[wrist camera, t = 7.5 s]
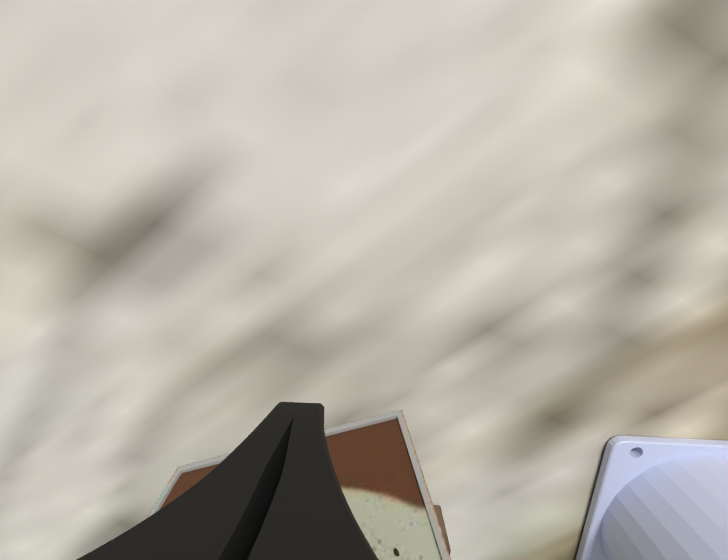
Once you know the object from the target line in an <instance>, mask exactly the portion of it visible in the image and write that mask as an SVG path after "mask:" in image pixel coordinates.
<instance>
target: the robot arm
mask: <svg viewBox="0 0 728 560" xmlns="http://www.w3.org/2000/svg"><path fill="white" fill-rule="evenodd" d="M633 448H634V449H633ZM632 449H633V450H632ZM77 560H379V559H378V558H377V556H376V555H375V553H374V551H373V550H372V548H371V546H370V544H369V543H368V541H367V539H366V537H365V536H364V534H363V532H362V530H361V528H360V527H359V525H358V523H357V521H356V519H355V517H354V515H353V513H352V511H351V509H350V507H349V505H348V503H347V501H346V498H345V496H344V494H343V491H342V489H341V486H340V484H339V481H338V478H337V476H336V473H335V470H334V467H333V464H332V461H331V457H330V454H329V450H328V446H327V442H326V437H325V431H324V406H323V405H322V404H320V403H295V402H280V403H279V404H277V405H276V406H275V408H274V409H273V410H272V411H271V412H270V413H269V414H268V415H267V417H266V418H265V419H264V420H263V421H262V422H261V423H260V424H259V425H258V426H257V427H256V429H255V430H254V431H253V432H252V433H251V434H250V435H249V436H248V437H247V438H246V439H245V440H244V441H243V442H242V443H241V444H240V445H239V446H238V447H237V448H236V449H235V450H234V451H233V452H232V453H230V454H229V455H228V456H227V457H226V458H225V459H224V460H223V461H222V462H221V463H219V464H218V465H217V466H216V467H215V468H214V469H213V470H212V471H211V472H209V473H208V474H207V475H206V476H205V477H203V478H202V479H201V480H200V481H199V482H197V483H196V484H195V485H193V486H192V487H191V488H190V489H188V490H187V491H186V492H184V493H183V494H182V495H180V496H179V497H178V498H176V499H175V500H173V501H172V502H170V503H169V504H167V505H166V506H164V507H163V508H161V509H160V510H159V511H157V512H156V513H154V514H153V515H151V516H150V517H148V518H147V519H145V520H144V521H142V522H141V523H139V524H138V525H136V526H134V527H133V528H131V529H129V530H128V531H126V532H124V533H123V534H121V535H120V536H118V537H116V538H115V539H113V540H111V541H109V542H108V543H106V544H104V545H102V546H101V547H99V548H97V549H95V550H94V551H92V552H90V553H88V554H86V555H84V556H83V557H81V558H79V559H77ZM576 560H728V441H720V440H699V439H678V438H657V437H636V436H616V437H613V438H611V439H610V440H609V441H608V443H607V445H606V448H605V452H604V456H603V459H602V463H601V467H600V471H599V474H598V478H597V482H596V485H595V489H594V493H593V497H592V500H591V504H590V508H589V511H588V515H587V519H586V523H585V526H584V530H583V534H582V538H581V541H580V545H579V549H578V552H577V556H576Z"/></svg>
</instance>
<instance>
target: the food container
mask: <svg viewBox="0 0 728 560" xmlns="http://www.w3.org/2000/svg"><path fill="white" fill-rule="evenodd" d="M324 431H325V437H326V442H327V446H328V450H329V454H330V457H331V461H332V464H333V467H334V470H335V473H336V476H337V478H338V481H339V484H340V486H341V489H342V491H343V494H344V496H345V498H346V501H347V503H348V505H349V507H350V509H351V511H352V513H353V515H354V517H355V519H356V521H357V523H358V525H359V527H360V528H361V530H362V532H363V534H364V536H365V537H366V539H367V541H368V543H369V544H370V546H371V548H372V550H373V551H374V553H375V555H376V556H377V558H378V559H379V560H451V558H450V555H449V552H448V549H447V546H446V543H445V540H444V537H443V534H442V531H441V528H440V525H439V522H438V519H437V516H436V513H435V510H434V507H433V504H432V501H431V497H430V494H429V491H428V488H427V485H426V482H425V479H424V476H423V473H422V470H421V467H420V464H419V461H418V458H417V455H416V452H415V449H414V446H413V443H412V440H411V437H410V434H409V431H408V428H407V425H406V421H405V418H404V415H403V412H402V410H398V411H394V412H390V413H386V414H383V415H379V416H375V417H371V418H367V419H363V420H359V421H355V422H351V423H347V424H344V425H340V426H336V427H332V428H328V429H324ZM228 455H229V454H226V455H223V456H219V457H215V458H211V459H207V460H203V461H199V462H195V463H191V464H187V465H184V466H180V467H178V468H177V469H176V471H175V473H174V474H173V476H172V478H171V479H170V481H169V482H168V484H167V486H166V487H165V489H164V491H163V492H162V494H161V495H160V497H159V499H158V500H157V502H156V503H155V505H154V507H153V508H152V510H151V512H150V513H149V515H148V516H147V518H148V517H150V516H151V515H153V514H154V513H156V512H157V511H159V510H160V509H161V508H163V507H164V506H166V505H167V504H169V503H170V502H172V501H173V500H175V499H176V498H178V497H179V496H180V495H182V494H183V493H184V492H186V491H187V490H188V489H190V488H191V487H192V486H193V485H195V484H196V483H197V482H199V481H200V480H201V479H202V478H203V477H205V476H206V475H207V474H208V473H209V472H211V471H212V470H213V469H214V468H215V467H216V466H217V465H218V464H219V463H221V462H222V461H223V460H224V459H225V458H226V457H227V456H228ZM147 518H146V519H147Z"/></svg>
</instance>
